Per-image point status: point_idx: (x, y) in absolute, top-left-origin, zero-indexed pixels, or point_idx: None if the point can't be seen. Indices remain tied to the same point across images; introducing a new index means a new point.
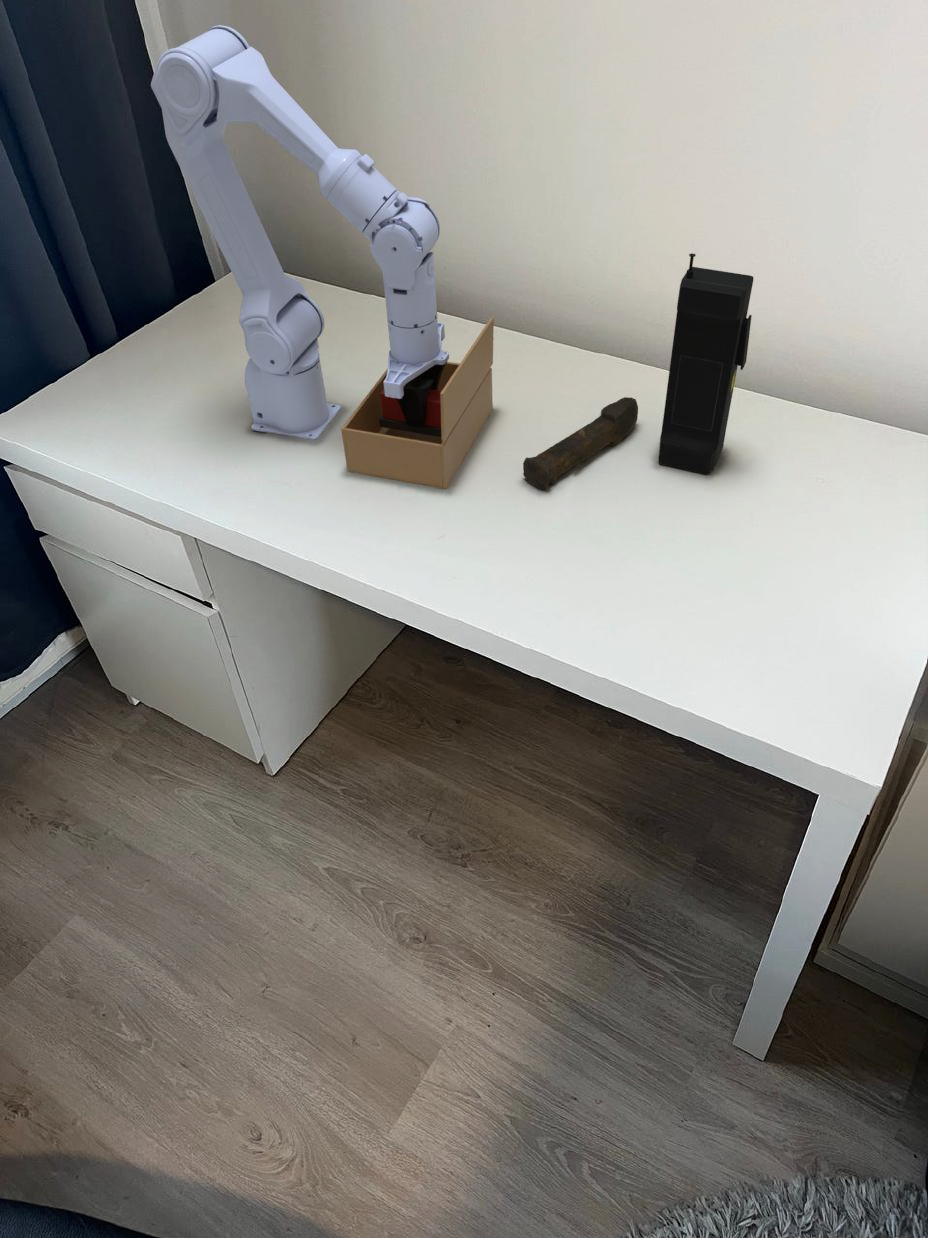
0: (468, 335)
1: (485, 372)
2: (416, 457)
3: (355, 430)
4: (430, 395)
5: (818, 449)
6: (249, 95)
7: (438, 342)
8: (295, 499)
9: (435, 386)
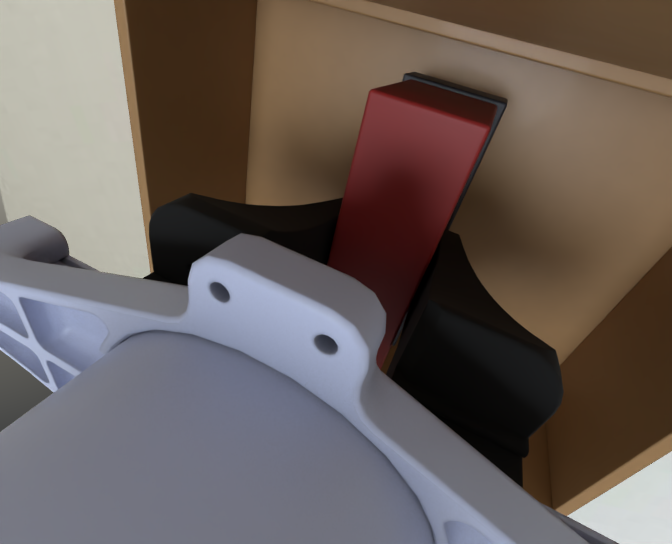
0: (8, 101)
1: None
2: None
3: (583, 499)
4: (383, 244)
5: None
6: None
7: (127, 431)
8: (628, 487)
9: (326, 224)
